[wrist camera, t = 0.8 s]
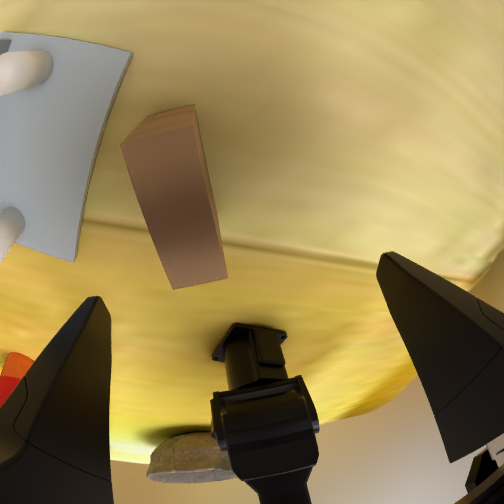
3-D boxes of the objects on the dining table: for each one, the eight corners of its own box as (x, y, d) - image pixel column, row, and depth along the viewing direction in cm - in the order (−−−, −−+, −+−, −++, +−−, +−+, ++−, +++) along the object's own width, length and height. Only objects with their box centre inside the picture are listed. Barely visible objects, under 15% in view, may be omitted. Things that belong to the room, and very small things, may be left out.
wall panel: (76, 257, 20) (59, 298, 16) (-22, 221, 16) (-49, 255, 12) (133, 53, 13) (112, 48, 9) (5, 32, 8) (-37, 33, 4)
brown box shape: (217, 213, 20) (227, 278, 15) (175, 222, 20) (171, 290, 15) (194, 104, 16) (192, 125, 10) (146, 116, 15) (118, 145, 10)
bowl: (173, 450, 56) (177, 485, 48) (123, 427, 43) (124, 473, 35) (254, 437, 55) (262, 475, 47) (222, 413, 42) (231, 466, 35)
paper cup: (35, 381, 31) (23, 461, 20) (-4, 355, 26) (-24, 438, 15) (56, 371, 29) (43, 464, 18) (12, 341, 25) (-13, 438, 14)
